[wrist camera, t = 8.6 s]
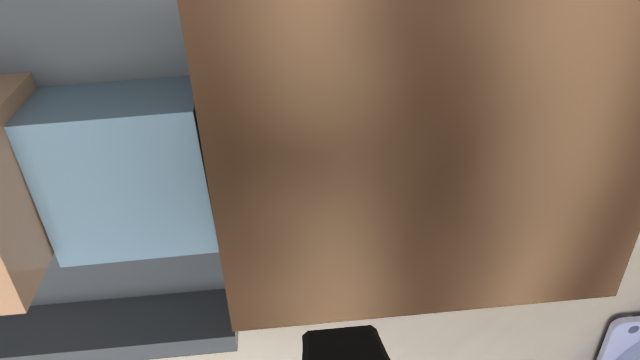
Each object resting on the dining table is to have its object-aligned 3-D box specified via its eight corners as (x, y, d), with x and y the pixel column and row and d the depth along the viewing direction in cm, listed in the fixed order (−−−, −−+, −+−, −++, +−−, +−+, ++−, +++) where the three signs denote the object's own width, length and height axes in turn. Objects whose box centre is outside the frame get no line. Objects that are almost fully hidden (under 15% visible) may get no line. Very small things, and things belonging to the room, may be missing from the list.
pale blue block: (201, 74, 17) (193, 111, 15) (223, 204, 20) (219, 252, 18) (36, 87, 17) (3, 126, 15) (82, 217, 20) (60, 267, 17)
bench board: (661, -75, 16) (745, -54, 14) (571, 237, 23) (615, 296, 20) (187, -53, 16) (173, -24, 13) (235, 266, 22) (232, 331, 19)
